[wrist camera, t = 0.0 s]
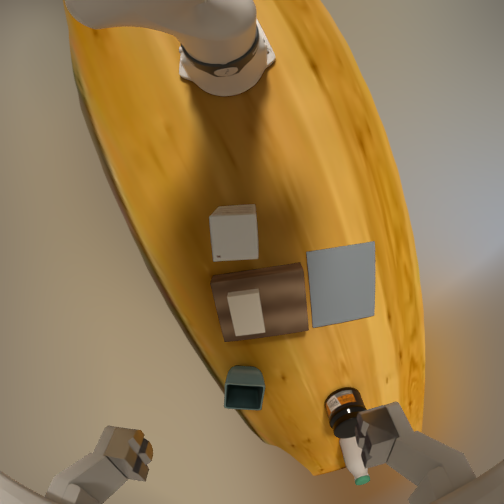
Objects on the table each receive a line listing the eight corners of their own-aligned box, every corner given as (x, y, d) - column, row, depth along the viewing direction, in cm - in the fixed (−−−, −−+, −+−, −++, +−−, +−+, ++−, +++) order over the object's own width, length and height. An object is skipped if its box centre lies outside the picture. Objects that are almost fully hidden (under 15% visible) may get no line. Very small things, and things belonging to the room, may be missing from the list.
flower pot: (264, 360, 65) (265, 385, 56) (260, 386, 67) (261, 410, 59) (228, 358, 65) (224, 383, 56) (226, 383, 67) (223, 408, 58)
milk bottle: (337, 435, 75) (349, 482, 56) (359, 427, 74) (375, 474, 55) (340, 445, 77) (351, 489, 58) (361, 438, 76) (375, 482, 57)
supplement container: (323, 390, 68) (331, 422, 57) (359, 381, 67) (372, 411, 56) (325, 413, 71) (332, 443, 60) (358, 404, 70) (369, 433, 59)
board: (213, 275, 58) (210, 283, 54) (299, 262, 57) (303, 269, 53) (226, 331, 62) (224, 342, 58) (305, 320, 61) (308, 330, 57)
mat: (306, 252, 57) (306, 252, 56) (374, 241, 56) (374, 241, 56) (312, 327, 62) (312, 327, 61) (373, 314, 61) (374, 315, 61)
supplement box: (257, 240, 56) (259, 261, 44) (220, 241, 56) (211, 262, 44) (256, 203, 54) (257, 213, 42) (217, 204, 54) (207, 216, 42)
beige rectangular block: (227, 292, 55) (227, 297, 53) (258, 288, 55) (258, 292, 53) (236, 330, 57) (235, 336, 56) (264, 327, 57) (265, 332, 55)
